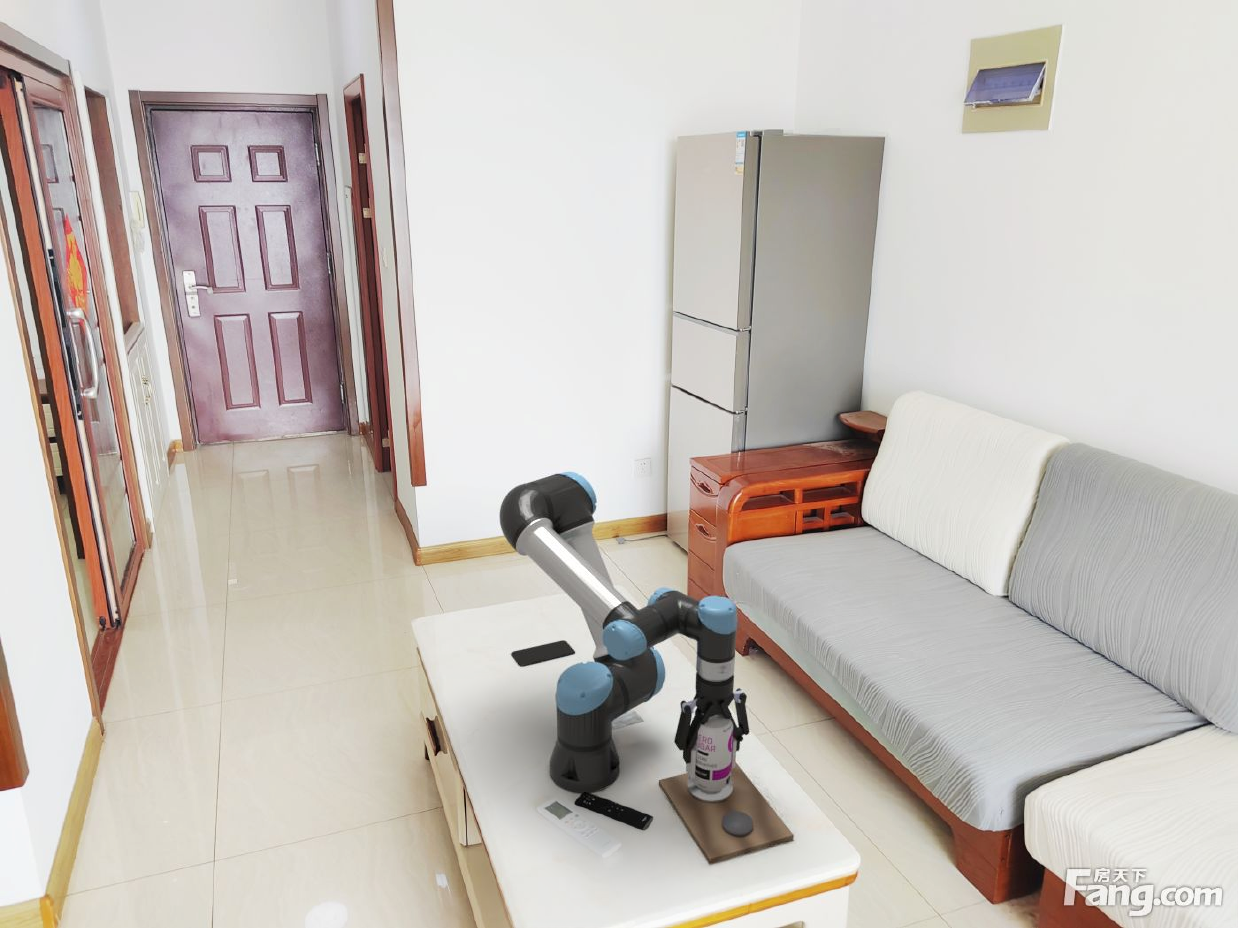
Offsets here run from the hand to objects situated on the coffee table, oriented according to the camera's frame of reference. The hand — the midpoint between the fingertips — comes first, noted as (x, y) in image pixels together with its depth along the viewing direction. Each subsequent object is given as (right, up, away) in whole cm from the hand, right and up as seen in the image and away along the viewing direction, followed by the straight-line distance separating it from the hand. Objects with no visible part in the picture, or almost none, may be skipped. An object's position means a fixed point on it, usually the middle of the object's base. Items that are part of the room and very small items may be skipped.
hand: (710, 768), depth 181 cm
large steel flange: (0, -4, +1) cm, 5 cm away
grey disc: (+4, -8, -9) cm, 13 cm away
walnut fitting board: (+2, -7, -4) cm, 8 cm away
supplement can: (0, -3, +1) cm, 3 cm away
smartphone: (-39, +11, +55) cm, 68 cm away
